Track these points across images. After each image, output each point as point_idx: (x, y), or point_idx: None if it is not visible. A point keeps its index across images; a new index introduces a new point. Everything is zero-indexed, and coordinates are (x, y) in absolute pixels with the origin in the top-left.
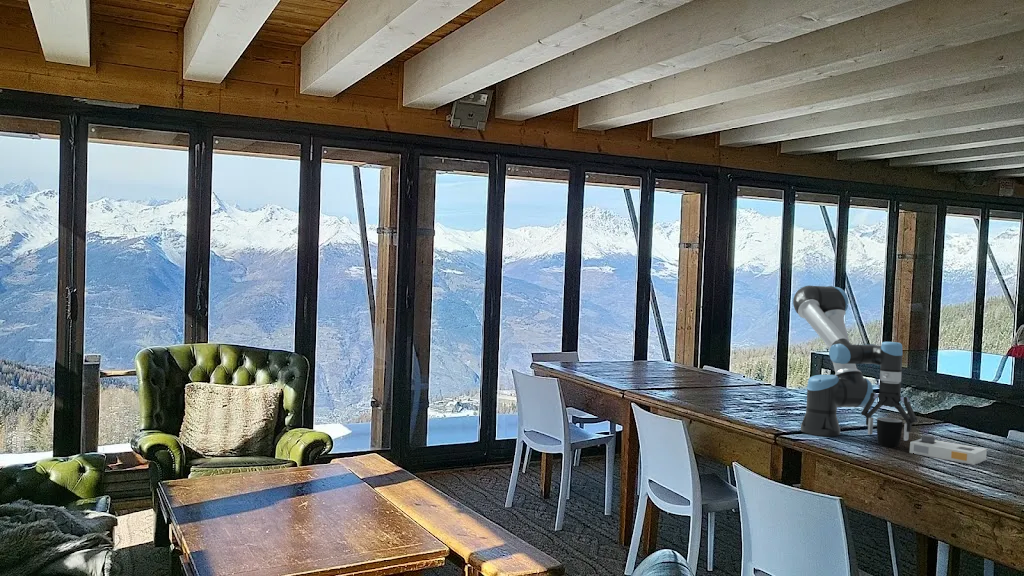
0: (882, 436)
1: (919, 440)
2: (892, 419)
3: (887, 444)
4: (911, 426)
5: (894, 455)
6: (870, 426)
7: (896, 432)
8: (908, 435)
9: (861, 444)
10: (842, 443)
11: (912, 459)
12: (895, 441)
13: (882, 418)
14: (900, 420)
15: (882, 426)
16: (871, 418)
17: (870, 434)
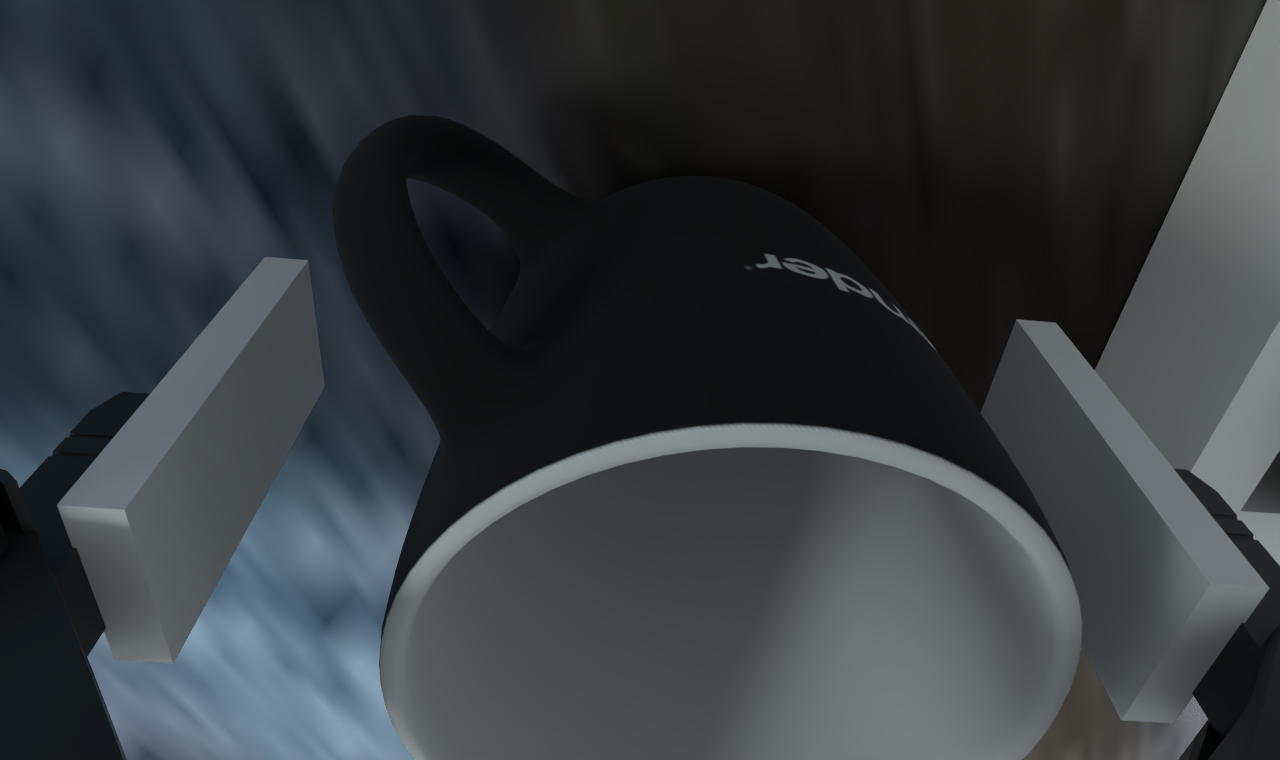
0: (633, 567)
1: (1275, 411)
2: (726, 431)
3: (710, 466)
4: (1273, 572)
5: None
6: (258, 474)
7: (882, 603)
8: (1093, 382)
9: (368, 506)
10: (198, 620)
11: (1060, 753)
12: (833, 468)
13: (444, 561)
14: (1016, 535)
15: (628, 740)
16: (164, 599)
17: (320, 356)
